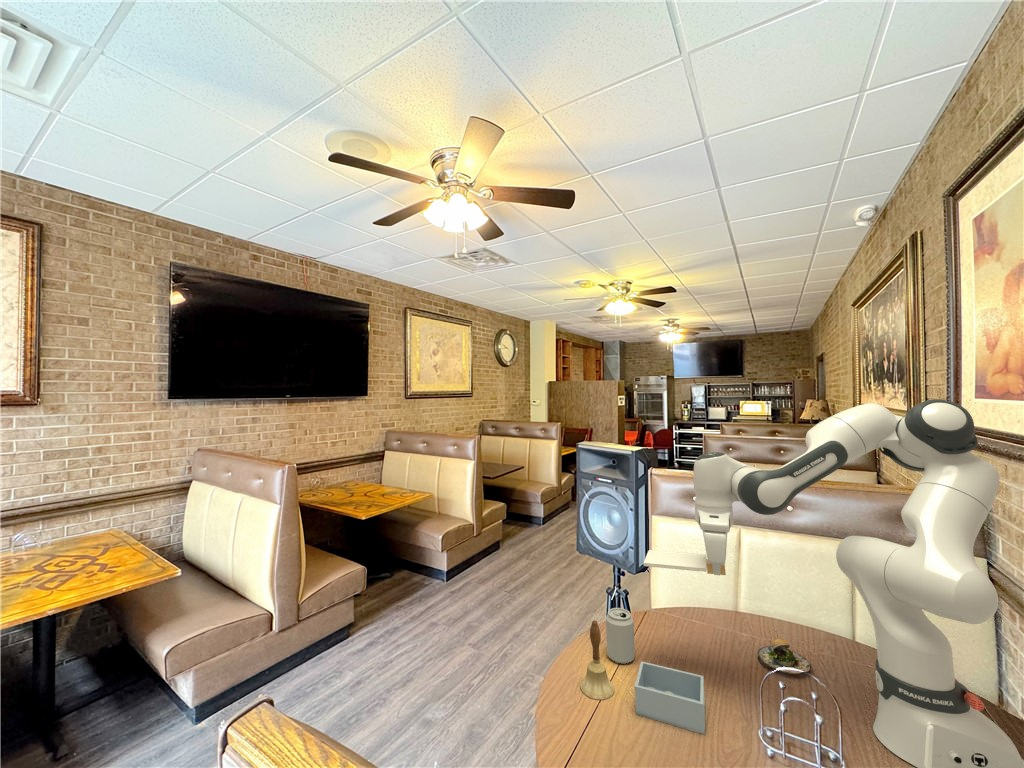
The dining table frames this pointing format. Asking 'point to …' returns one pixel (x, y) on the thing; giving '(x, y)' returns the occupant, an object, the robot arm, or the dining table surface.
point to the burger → (782, 657)
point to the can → (620, 635)
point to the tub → (671, 696)
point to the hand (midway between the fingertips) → (716, 570)
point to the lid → (680, 561)
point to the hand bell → (596, 671)
